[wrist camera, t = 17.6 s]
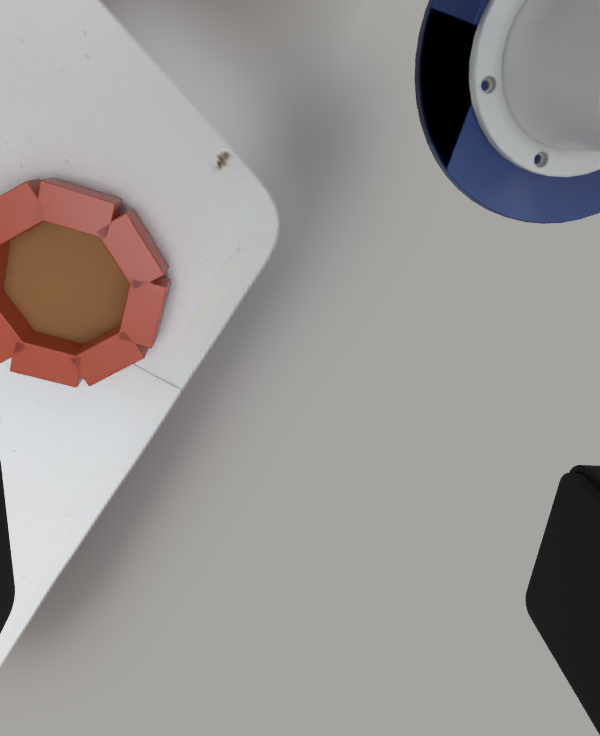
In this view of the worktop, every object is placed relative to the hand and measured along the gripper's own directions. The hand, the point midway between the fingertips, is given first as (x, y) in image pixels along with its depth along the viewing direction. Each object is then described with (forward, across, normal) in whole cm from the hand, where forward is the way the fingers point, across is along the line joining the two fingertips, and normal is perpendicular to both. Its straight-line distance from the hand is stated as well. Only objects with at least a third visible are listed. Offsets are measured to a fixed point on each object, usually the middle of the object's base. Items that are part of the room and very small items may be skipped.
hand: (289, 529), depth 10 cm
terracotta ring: (+26, +11, +3) cm, 28 cm away
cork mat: (+26, +11, +3) cm, 29 cm away
